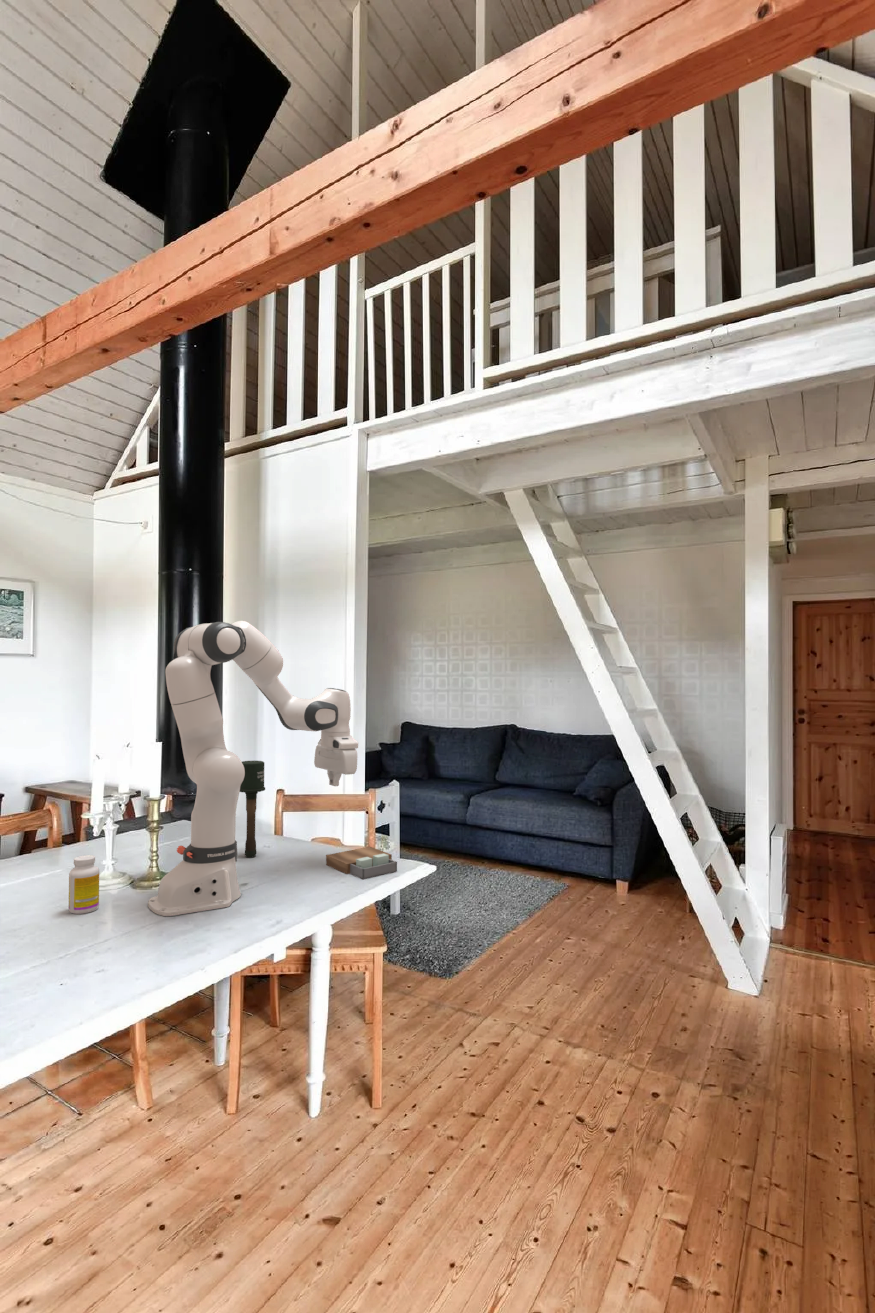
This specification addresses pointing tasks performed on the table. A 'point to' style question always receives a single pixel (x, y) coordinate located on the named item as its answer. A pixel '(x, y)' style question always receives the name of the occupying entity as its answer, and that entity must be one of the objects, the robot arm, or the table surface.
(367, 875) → the tray
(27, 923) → the table surface
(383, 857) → the tile
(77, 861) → the supplement bottle
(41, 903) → the table surface
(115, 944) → the table surface
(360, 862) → the tile
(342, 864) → the board
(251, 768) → the potato masher grenade
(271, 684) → the robot arm
